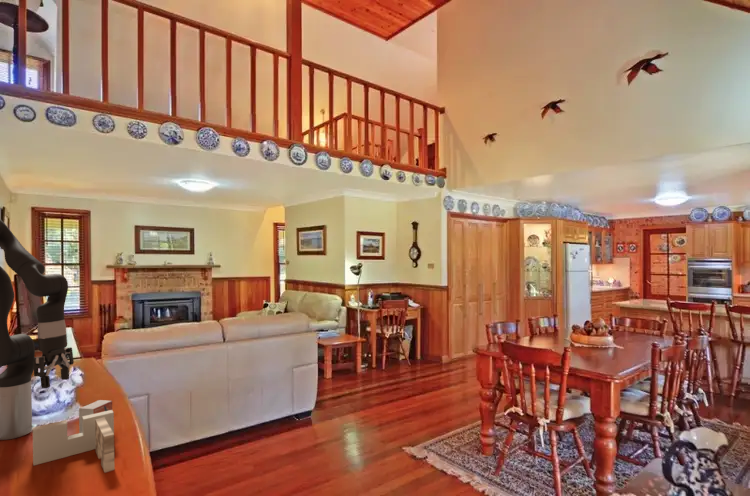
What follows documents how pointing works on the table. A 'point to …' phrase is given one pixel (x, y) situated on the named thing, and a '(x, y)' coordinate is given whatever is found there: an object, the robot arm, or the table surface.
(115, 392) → the table surface
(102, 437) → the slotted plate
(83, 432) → the notched board
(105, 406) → the small box
